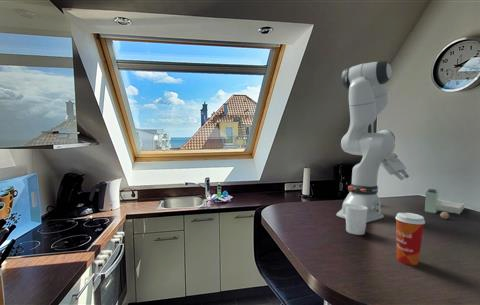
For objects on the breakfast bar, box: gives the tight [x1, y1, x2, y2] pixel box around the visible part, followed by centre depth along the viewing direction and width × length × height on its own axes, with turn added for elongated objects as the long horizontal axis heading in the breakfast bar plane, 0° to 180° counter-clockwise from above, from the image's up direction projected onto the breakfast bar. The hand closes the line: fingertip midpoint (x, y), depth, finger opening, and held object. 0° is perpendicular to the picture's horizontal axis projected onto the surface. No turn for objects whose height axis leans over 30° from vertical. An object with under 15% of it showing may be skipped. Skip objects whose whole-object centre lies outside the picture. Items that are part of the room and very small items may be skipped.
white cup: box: [345, 204, 368, 236], centre depth 106 cm, size 8×8×10 cm
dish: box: [437, 199, 465, 215], centre depth 143 cm, size 14×12×3 cm
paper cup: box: [395, 212, 426, 266], centre depth 82 cm, size 8×8×14 cm
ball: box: [440, 211, 450, 220], centre depth 126 cm, size 3×3×3 cm
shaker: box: [424, 188, 440, 214], centre depth 137 cm, size 4×4×11 cm
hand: (405, 178), depth 145 cm, fingers open, 8 cm apart
